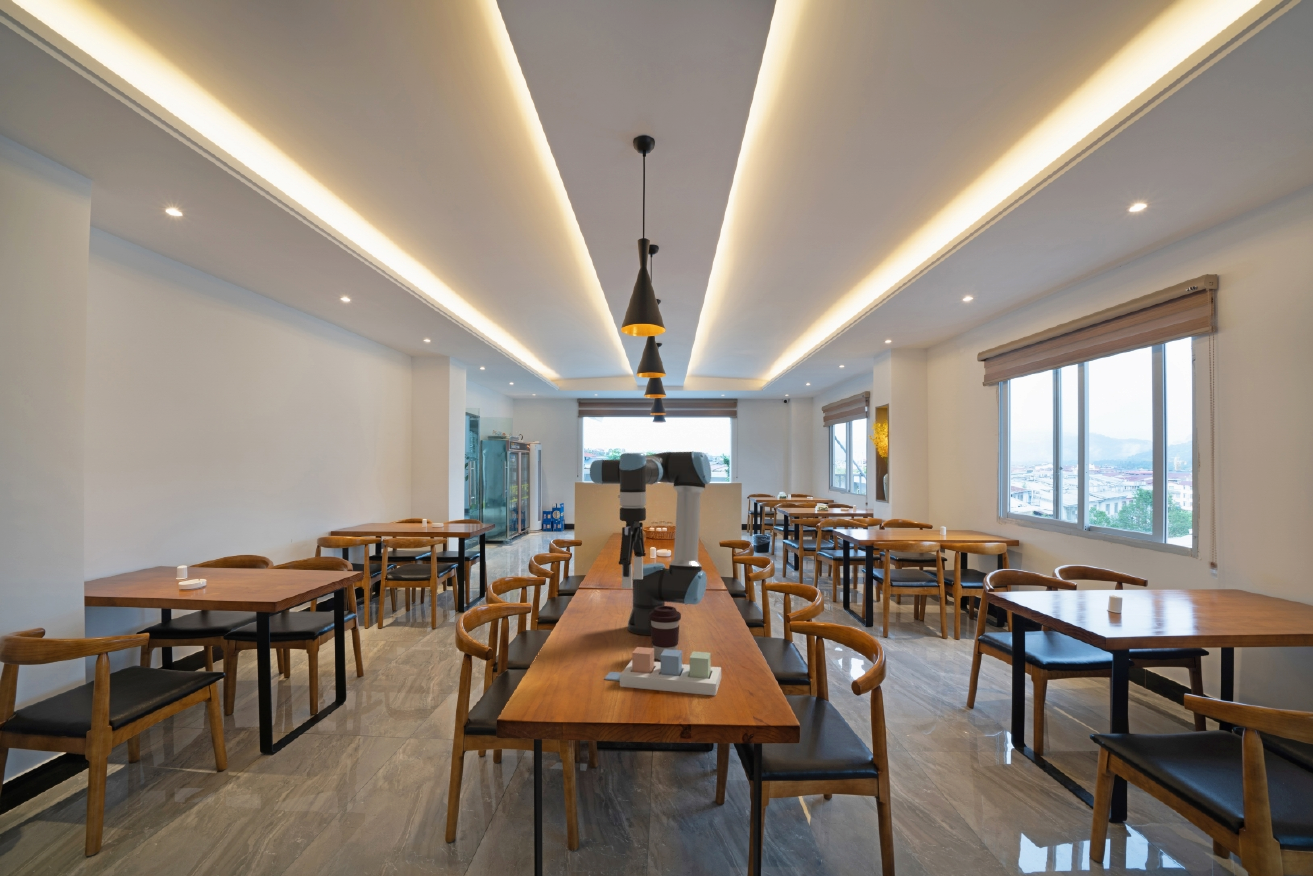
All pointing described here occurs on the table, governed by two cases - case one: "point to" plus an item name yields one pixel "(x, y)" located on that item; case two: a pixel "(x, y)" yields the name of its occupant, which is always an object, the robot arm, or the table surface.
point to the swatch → (613, 676)
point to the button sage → (700, 665)
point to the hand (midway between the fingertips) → (632, 583)
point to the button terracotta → (643, 660)
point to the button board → (671, 680)
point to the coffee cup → (664, 629)
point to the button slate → (671, 662)
